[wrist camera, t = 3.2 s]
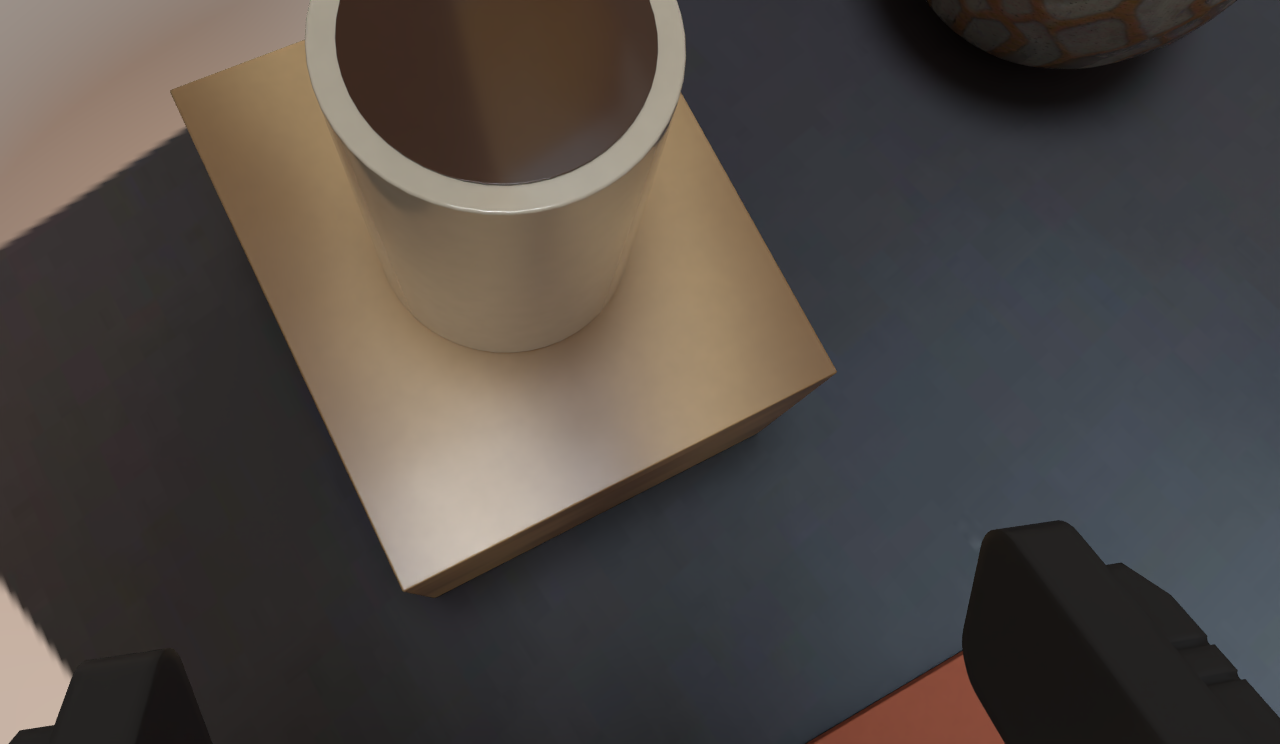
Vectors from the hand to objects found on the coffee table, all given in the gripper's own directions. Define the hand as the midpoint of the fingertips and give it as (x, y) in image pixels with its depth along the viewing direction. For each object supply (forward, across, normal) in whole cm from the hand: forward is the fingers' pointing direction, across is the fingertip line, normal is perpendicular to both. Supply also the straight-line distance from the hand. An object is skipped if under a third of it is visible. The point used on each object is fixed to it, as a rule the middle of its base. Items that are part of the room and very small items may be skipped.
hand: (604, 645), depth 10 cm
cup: (+17, 0, +3) cm, 17 cm away
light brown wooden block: (+23, 0, +9) cm, 25 cm away
